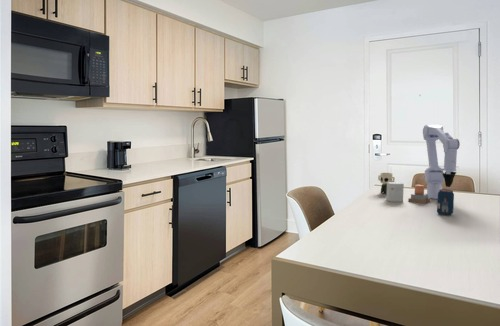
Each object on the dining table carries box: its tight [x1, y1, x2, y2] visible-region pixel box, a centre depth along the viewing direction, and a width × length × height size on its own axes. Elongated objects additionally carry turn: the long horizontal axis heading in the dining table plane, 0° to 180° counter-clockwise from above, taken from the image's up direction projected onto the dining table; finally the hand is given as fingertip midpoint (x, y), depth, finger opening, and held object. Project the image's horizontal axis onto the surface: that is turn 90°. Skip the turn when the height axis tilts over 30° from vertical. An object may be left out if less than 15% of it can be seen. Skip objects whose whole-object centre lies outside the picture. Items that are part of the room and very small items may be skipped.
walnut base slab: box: [407, 197, 432, 205], centre depth 204 cm, size 9×9×2 cm
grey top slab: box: [410, 192, 428, 200], centre depth 204 cm, size 7×7×2 cm
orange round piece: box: [414, 184, 425, 195], centre depth 203 cm, size 5×5×5 cm
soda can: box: [436, 188, 455, 217], centre depth 174 cm, size 7×7×12 cm
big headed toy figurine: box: [377, 172, 395, 195], centre depth 227 cm, size 11×7×13 cm, turn 40°
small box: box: [385, 181, 405, 203], centre depth 206 cm, size 8×6×10 cm
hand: (448, 185), depth 195 cm, fingers open, 7 cm apart
